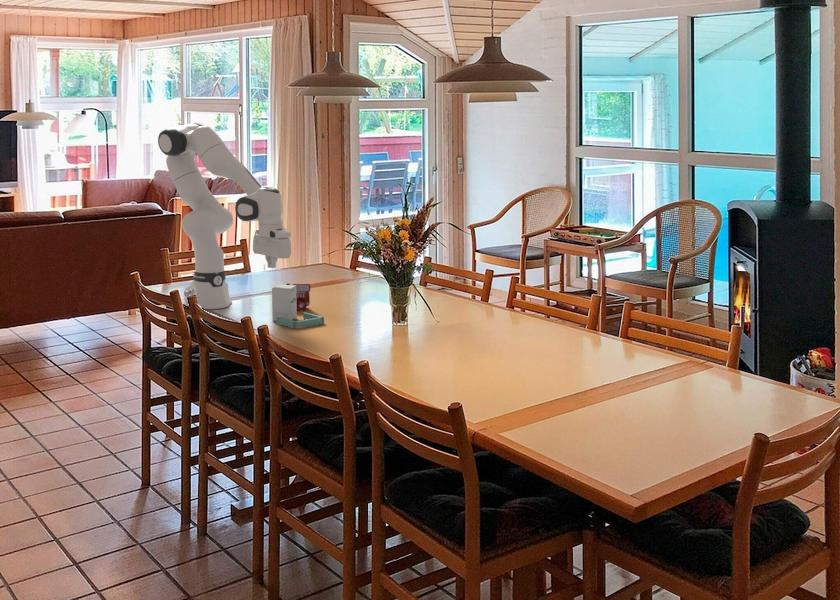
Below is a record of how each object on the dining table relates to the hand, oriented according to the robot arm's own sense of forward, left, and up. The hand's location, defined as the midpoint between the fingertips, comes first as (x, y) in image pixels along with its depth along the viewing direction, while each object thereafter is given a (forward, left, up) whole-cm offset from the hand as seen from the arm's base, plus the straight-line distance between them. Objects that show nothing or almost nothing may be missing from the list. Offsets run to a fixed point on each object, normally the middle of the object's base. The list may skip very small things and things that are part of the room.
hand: (271, 267), depth 353 cm
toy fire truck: (-5, +14, -19) cm, 24 cm away
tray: (+18, 0, -19) cm, 26 cm away
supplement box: (+8, 0, -19) cm, 20 cm away
